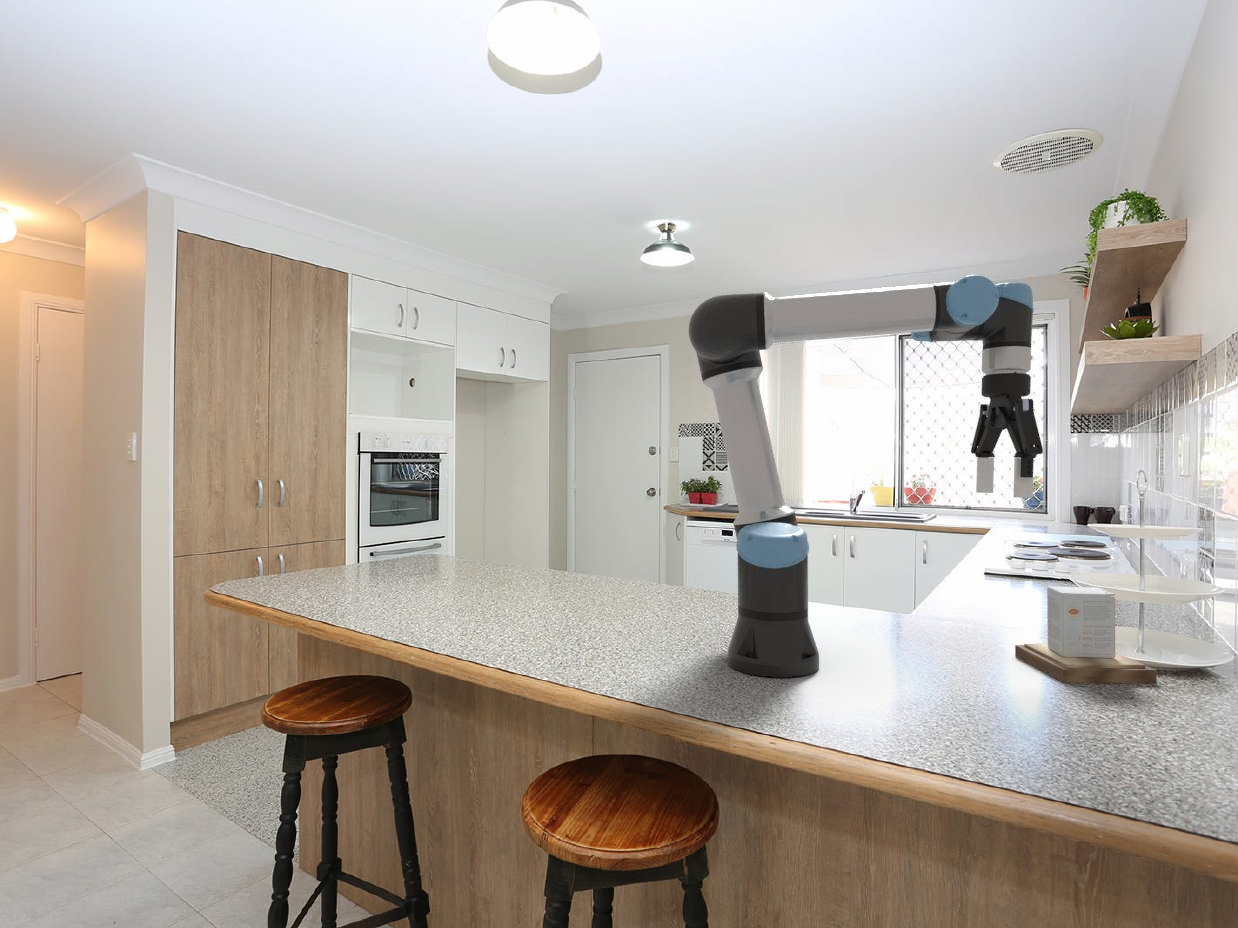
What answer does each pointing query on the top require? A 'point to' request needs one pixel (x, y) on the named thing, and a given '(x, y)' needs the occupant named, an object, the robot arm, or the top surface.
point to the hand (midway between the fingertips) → (1002, 495)
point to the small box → (1081, 622)
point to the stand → (1085, 666)
